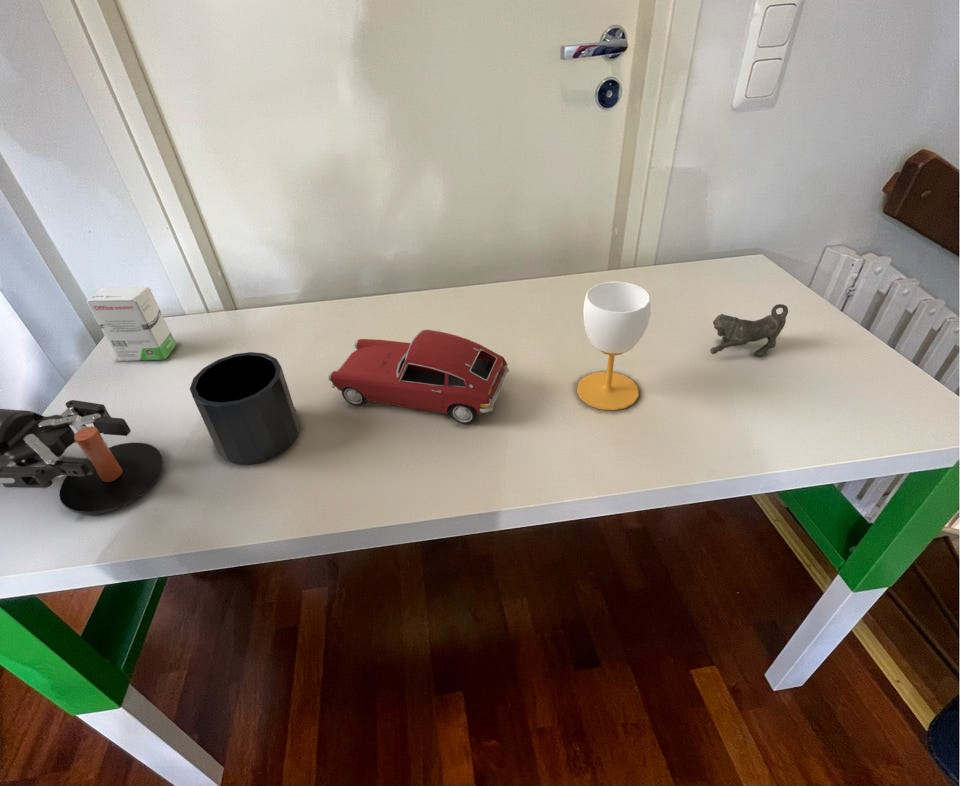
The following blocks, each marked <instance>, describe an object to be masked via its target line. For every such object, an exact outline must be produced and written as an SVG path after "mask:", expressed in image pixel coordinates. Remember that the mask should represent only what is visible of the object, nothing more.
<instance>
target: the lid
mask: <svg viewBox="0 0 960 786" xmlns="http://www.w3.org/2000/svg"><path fill="white" fill-rule="evenodd" d="M74 439H75V440H76V444H77V445H78V447H79V448H80V450H81V451H82V452H83V455H85V457H86V459H89V460H90V461H91V462H92V464H93V465H94V467H95V468H96V471H95V472H94V473H93V474H92V475H86V476H82V477H78V476H67V475H65V478H64V479H63V481H62V483H61V485H60V488H59V500H60V502H61V503H62V505H63V506H64V508H66V509H67V510H68V511H70V512H73V513H75V514H79V515H96V514H103V513H107V512H111V511H114V510H117V509H119V508H122V507H124V506H126V505H128V504H130V503H132V502H134V501H135V500H137V499H138V498H140V497H142V495H143V494H145V493H146V492H147V491H149V490H150V489H151V488H152V487H153V485H154V484H155V483H156V482H157V481H158V479H159V477H160V476H161V474H162V472H163V469H164V457H163V455H162V453H161V452H160V450H159V449H158V447H155V446H153V445H151V444H149V443H145V442H135V441H134V442H124V443H118V444H115V445H112V446H108V444H107V442H106V441H105V439H104V438H103V436H102V433H99V431H98V429H97V428H96V427H95V426H91V425H90V426H86V427H85V428H83V429H81V430H79V431H78V432H77V431H76V433H75V436H74Z"/></svg>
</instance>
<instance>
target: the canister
mask: <svg viewBox="0 0 960 786" xmlns="http://www.w3.org/2000/svg"><path fill="white" fill-rule="evenodd" d="M282 367H283V366H282V365H281V364H280V362H279V361H278V359H277V358H275V357H273V356H272V355H270V354H267V353H263V352H255V351H248V352H239V353H233V354H231V355H227V356H225V357H224V356H223V357H222V358H219V359H217V360H215V361H213V362H212V363H209V364H208V365H206V366H205V367H203V368H202V369H201V370H200V371H199V372H198V373H197V374H196V375H195V376H194V377H193V378H192V381H191V384H190V387H189V391H190V393H191V397H192V399H193V401H194V403H195V406H196V408H197V410H198V412H199V415H200V417H201V419H202V421H203V423H204V425H205V427H206V429H207V432H208V434H209V436H210V439H211V441H212V443H213V445H214V447H215V449H216V452H217V454H218V455H219V456H220V458H222V459H223V460H224V461H226V462H228V463H230V464H234V465H239V466H240V465H242V466H243V465H244V466H248V465H249V466H250V465H255V464H261V463H264V462H267V461H270V460H273V459H275V458H276V457H279V456H280V455H282V454H283V453H285V452H286V451H287V450H288V449H290V448H291V446H293V444H294V443H295V442H296V440H297V438H298V436H299V434H300V421H299V417H298V414H297V411H296V408H295V405H294V401H293V399H292V396H291V393H290V390H289V386H288V383H287V380H286V377H285V373H284V370H283V368H282Z"/></svg>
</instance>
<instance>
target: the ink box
mask: <svg viewBox="0 0 960 786" xmlns="http://www.w3.org/2000/svg"><path fill="white" fill-rule="evenodd" d="M86 304H87V305H88V308H89V309H90V311H91V313H92V315H93V317H94V319H95V320H96V322H97V324H98V326H99V328H100V329H101V331H102V333H103V336H104V338H105V339H106V341H107V343H108V344H109V346H110V348H111V350H112V352H113V354H114V355H115V357H116V359H117V361H118V362H123V361H124V362H125V361H131V362H133V361H164V360H165V361H166V359H167V358H168V357H169V356H170V355H171V353H172V352H173V350H174V349H175V348H176V346H177V343H176V340H175V339H174V337H173V335H172V332H171V330H170V328H169V326H168V323H167V321H166V319H165V317H164V316H163V313H162V311H161V309H160V307H159V305H158V302H157V300H156V298H155V295H154V294H153V291H152V289H151V287H150V286H103V287H101V288H100V289H99V290H97V292H95V293H94V294H93V295H92V296H90V297H89V298H88V299H87V301H86Z"/></svg>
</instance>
